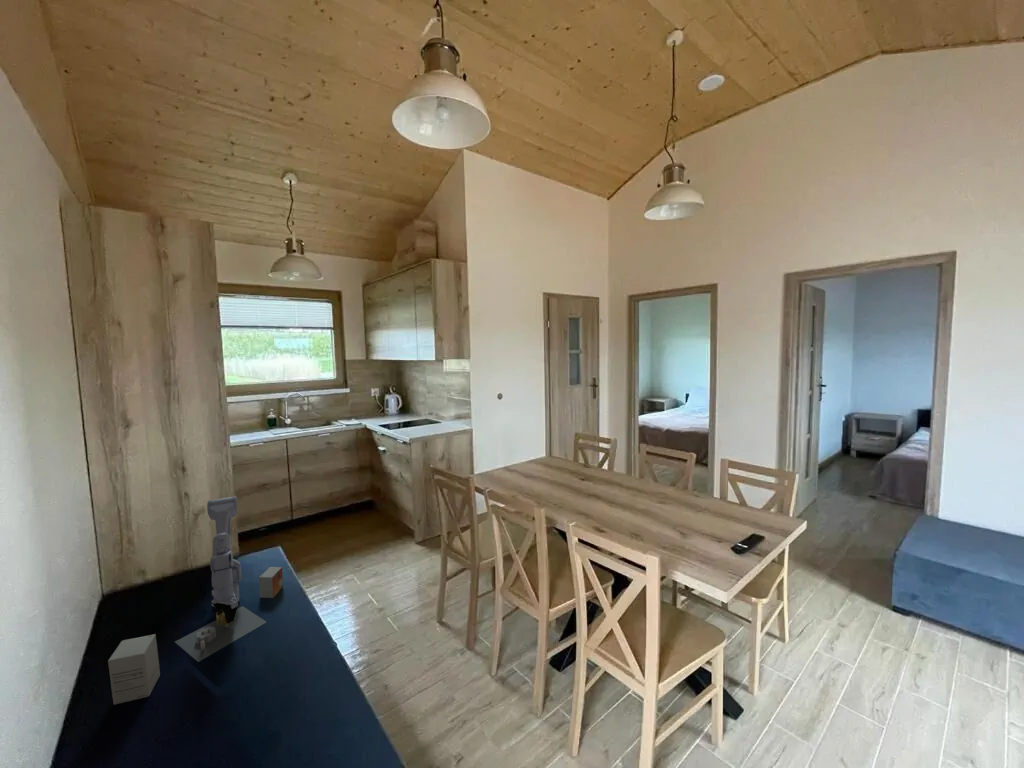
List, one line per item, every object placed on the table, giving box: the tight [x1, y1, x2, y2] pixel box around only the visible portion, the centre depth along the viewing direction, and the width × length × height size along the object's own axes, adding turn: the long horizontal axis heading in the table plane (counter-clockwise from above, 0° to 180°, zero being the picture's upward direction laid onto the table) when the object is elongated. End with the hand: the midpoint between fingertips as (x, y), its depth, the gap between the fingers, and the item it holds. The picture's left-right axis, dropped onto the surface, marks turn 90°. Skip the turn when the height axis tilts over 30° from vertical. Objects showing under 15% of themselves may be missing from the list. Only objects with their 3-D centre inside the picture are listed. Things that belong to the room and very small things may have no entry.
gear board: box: [174, 605, 267, 663], centre depth 157 cm, size 17×23×4 cm
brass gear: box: [215, 609, 236, 626], centre depth 159 cm, size 6×6×4 cm
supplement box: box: [107, 633, 161, 705], centre depth 133 cm, size 9×9×15 cm
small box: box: [258, 566, 284, 599], centre depth 180 cm, size 8×6×10 cm
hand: (226, 618), depth 159 cm, fingers closed on brass gear, 6 cm apart
